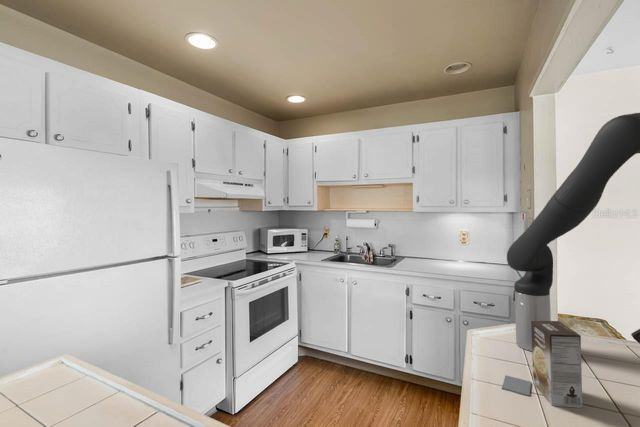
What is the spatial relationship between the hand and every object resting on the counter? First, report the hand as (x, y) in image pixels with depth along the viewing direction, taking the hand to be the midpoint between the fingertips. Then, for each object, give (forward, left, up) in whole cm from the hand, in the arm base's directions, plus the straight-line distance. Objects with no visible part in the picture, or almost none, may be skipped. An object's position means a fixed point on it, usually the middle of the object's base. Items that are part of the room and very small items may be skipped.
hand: (636, 340), depth 63 cm
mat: (+1, -21, -16) cm, 27 cm away
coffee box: (0, -13, -16) cm, 21 cm away
